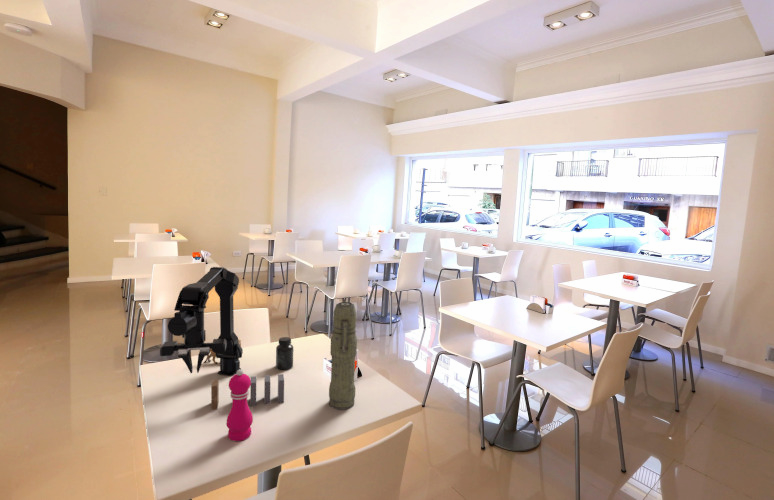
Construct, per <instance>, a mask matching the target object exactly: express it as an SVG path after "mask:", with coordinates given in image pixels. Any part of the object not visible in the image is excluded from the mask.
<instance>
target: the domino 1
mask: <svg viewBox="0 0 774 500" xmlns="http://www.w3.org/2000/svg"><path fill="white" fill-rule="evenodd" d="M211 381H212V382H211V387H210V388H211V392H210V394H211V396H210V397H211V400H210V401H211V403H210V404H211V406H210V410H211V411H213V410H218V409H219V399H220V397H219V395H220V393H219V392H220V391H219V390H220V388H219V385H220V384H219V379H218V378H217V379H216V378H215V379H212V380H211Z"/></svg>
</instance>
